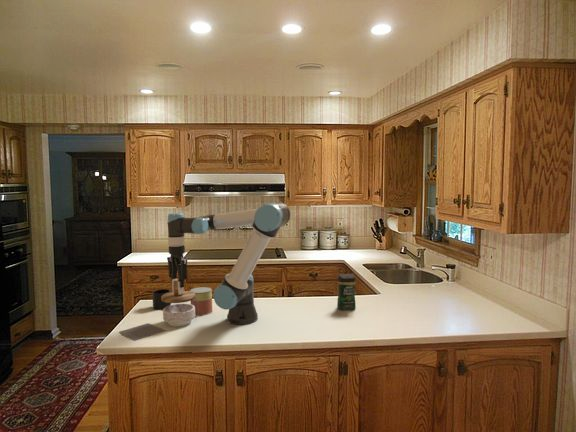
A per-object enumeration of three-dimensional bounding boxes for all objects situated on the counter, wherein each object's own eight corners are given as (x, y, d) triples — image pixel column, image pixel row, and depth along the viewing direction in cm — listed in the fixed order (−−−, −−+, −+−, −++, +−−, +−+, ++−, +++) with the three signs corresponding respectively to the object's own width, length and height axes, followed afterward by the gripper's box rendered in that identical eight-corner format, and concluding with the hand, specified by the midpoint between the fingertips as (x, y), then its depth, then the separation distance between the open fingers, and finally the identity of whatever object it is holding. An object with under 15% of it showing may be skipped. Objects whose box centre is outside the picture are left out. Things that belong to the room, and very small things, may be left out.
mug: (168, 311, 223) (168, 294, 223) (149, 309, 227) (148, 293, 226) (178, 305, 232) (177, 290, 232) (159, 304, 236) (158, 288, 235)
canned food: (209, 307, 228) (208, 286, 227) (215, 313, 218) (214, 290, 217) (188, 310, 223) (188, 288, 222) (193, 316, 213) (192, 293, 212)
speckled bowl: (179, 331, 193) (178, 314, 192) (156, 325, 201) (156, 309, 200) (202, 321, 206) (201, 305, 205) (180, 316, 214) (179, 301, 213)
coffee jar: (339, 311, 219) (339, 276, 217) (336, 306, 227) (335, 272, 225) (357, 310, 219) (357, 275, 218) (353, 305, 227) (353, 272, 226)
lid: (202, 297, 203) (201, 280, 202) (173, 305, 191) (173, 287, 190) (182, 292, 213) (182, 275, 213) (154, 299, 201) (154, 281, 201)
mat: (166, 331, 193) (166, 330, 193) (134, 341, 181) (134, 340, 181) (147, 323, 203) (147, 323, 203) (116, 333, 191) (116, 332, 191)
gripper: (193, 246, 197) (195, 294, 199) (173, 242, 208) (174, 288, 210) (180, 248, 192) (182, 297, 194) (159, 244, 203) (161, 291, 205)
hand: (178, 292), depth 202 cm, fingers closed on lid, 4 cm apart
